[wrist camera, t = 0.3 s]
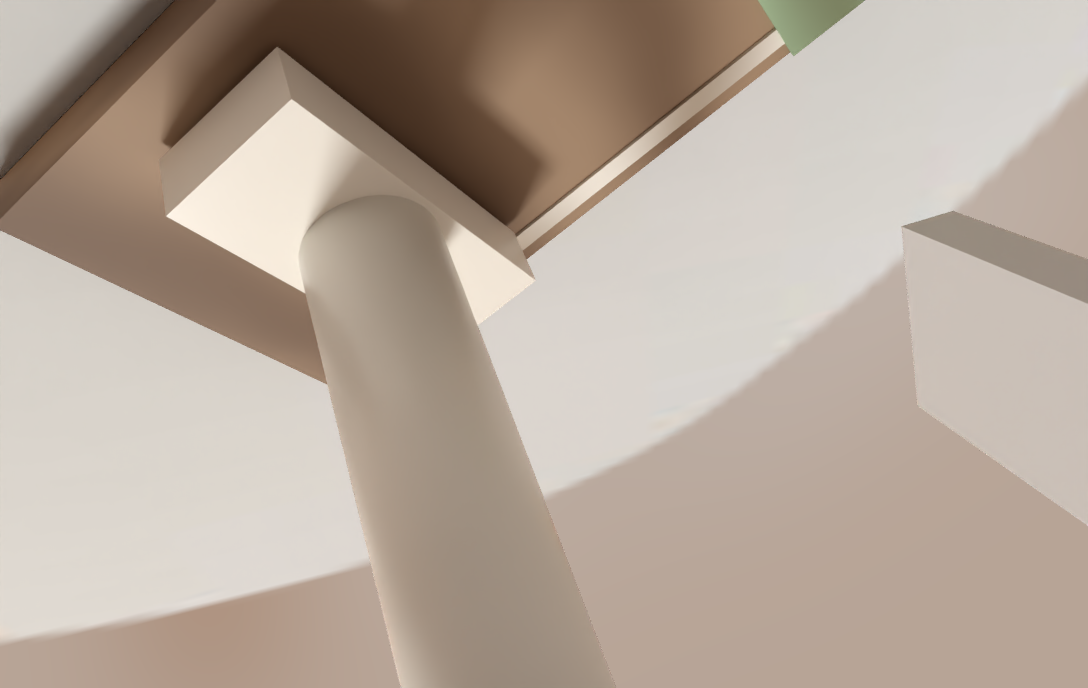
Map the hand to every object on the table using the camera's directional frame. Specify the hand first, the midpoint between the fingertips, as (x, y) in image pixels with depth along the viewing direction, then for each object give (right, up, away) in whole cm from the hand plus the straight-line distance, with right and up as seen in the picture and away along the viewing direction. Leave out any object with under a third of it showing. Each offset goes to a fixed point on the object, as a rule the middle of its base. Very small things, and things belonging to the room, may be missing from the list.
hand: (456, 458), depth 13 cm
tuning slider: (-4, +5, +13) cm, 14 cm away
